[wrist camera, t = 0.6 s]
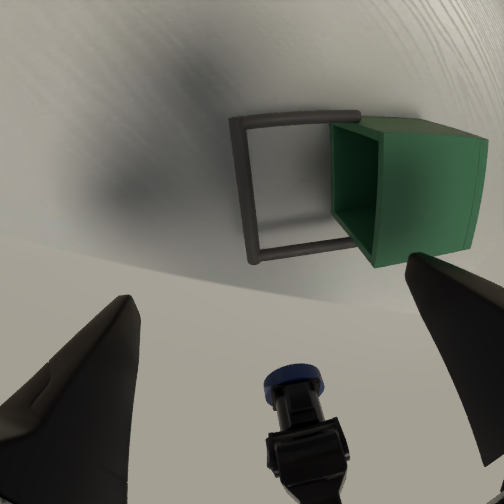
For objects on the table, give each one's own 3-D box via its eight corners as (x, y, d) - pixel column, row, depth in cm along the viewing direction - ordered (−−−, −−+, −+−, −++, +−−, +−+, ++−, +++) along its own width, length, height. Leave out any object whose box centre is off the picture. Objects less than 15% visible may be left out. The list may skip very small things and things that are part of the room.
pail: (421, 110, 17) (489, 127, 11) (414, 213, 21) (467, 258, 15) (227, 114, 16) (230, 124, 10) (243, 235, 21) (254, 300, 15)
